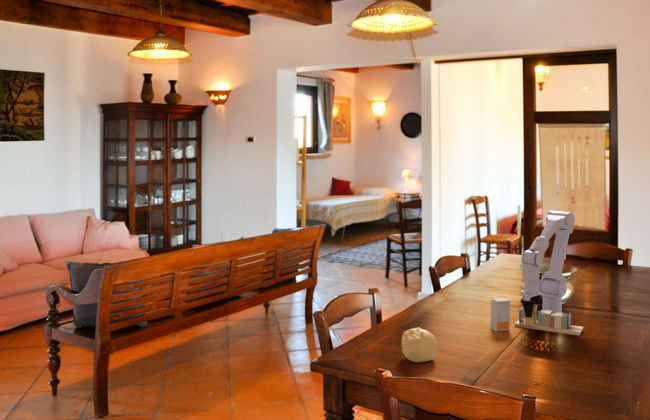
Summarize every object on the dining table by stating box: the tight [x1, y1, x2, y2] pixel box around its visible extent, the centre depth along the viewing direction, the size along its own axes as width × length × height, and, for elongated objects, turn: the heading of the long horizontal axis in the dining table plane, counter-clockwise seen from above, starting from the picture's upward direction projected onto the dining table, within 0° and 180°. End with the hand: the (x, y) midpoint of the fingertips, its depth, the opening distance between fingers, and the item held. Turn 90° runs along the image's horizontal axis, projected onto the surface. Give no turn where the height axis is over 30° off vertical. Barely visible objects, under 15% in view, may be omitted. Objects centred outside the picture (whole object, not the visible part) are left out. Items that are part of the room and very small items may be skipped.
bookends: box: [518, 306, 572, 330], centre depth 247 cm, size 5×18×5 cm, turn 59°
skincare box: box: [490, 297, 511, 332], centre depth 244 cm, size 6×4×12 cm
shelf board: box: [514, 318, 584, 336], centre depth 246 cm, size 8×24×1 cm, turn 59°
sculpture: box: [400, 326, 438, 363], centre depth 213 cm, size 12×12×11 cm
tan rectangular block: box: [524, 304, 538, 325], centre depth 249 cm, size 4×4×7 cm
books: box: [537, 309, 569, 329], centre depth 245 cm, size 5×11×5 cm, turn 60°
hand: (530, 314), depth 249 cm, fingers open, 7 cm apart
